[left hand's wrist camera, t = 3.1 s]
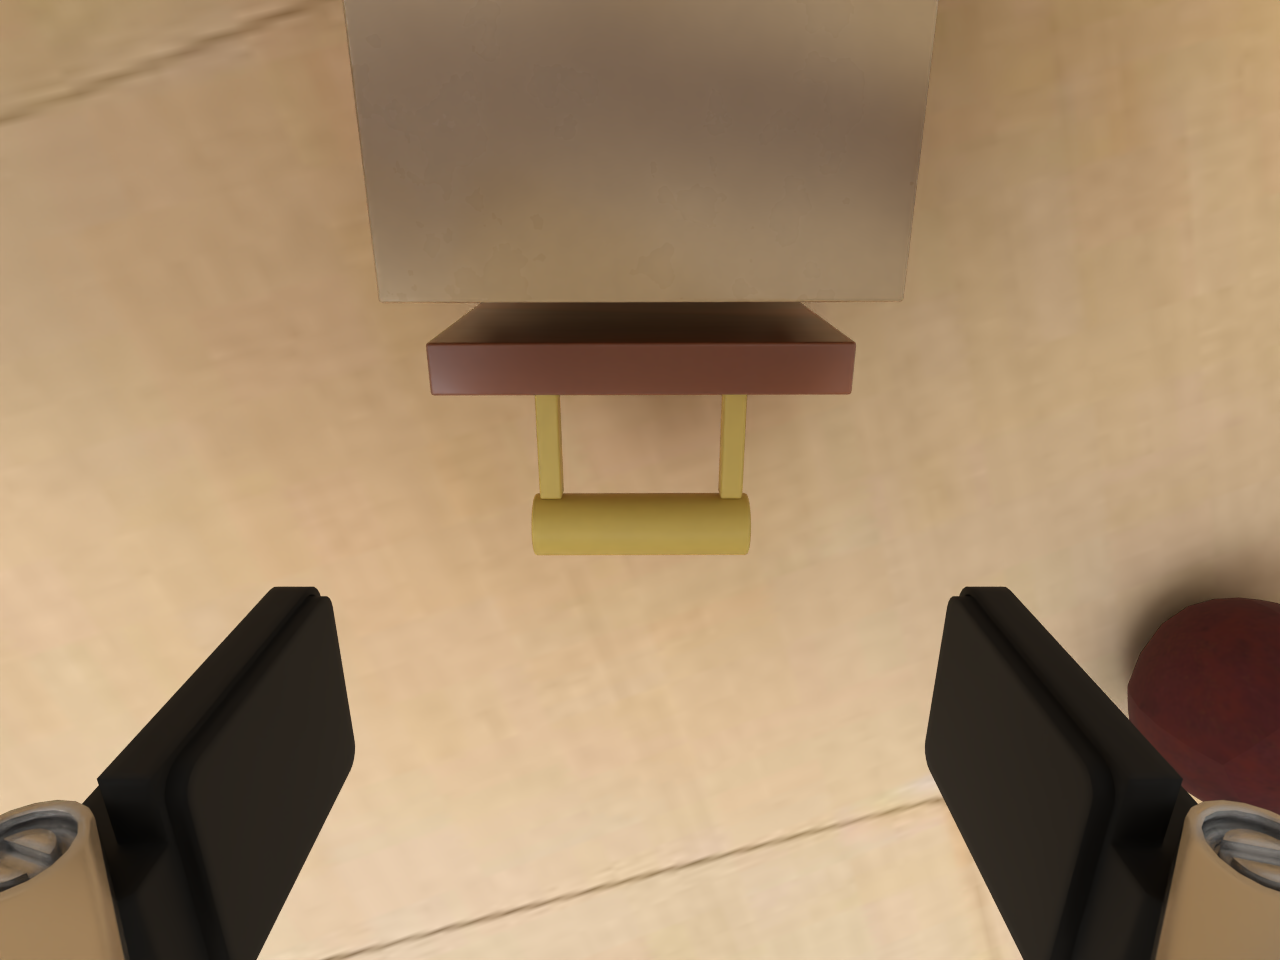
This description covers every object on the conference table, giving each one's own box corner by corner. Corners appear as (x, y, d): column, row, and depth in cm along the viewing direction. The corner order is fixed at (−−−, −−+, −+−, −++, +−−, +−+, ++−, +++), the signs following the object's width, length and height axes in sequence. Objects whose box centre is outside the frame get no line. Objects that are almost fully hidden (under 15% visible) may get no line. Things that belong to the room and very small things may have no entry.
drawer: (776, 480, 27) (831, 599, 19) (505, 481, 27) (451, 600, 19) (833, -392, 19) (970, -797, 11) (444, -392, 19) (308, -797, 11)
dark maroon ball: (1323, 645, 30) (1513, 773, 24) (1153, 759, 32) (1284, 906, 26) (1224, 527, 28) (1400, 630, 22) (1050, 656, 30) (1164, 785, 24)
